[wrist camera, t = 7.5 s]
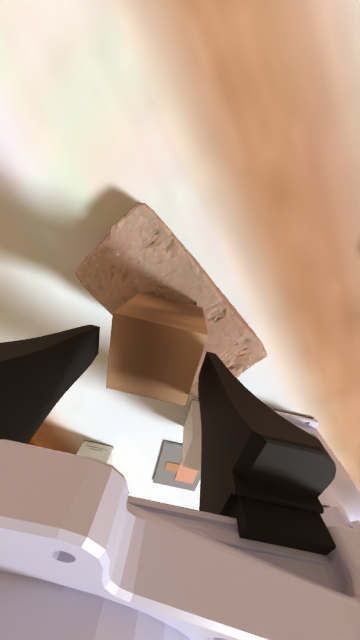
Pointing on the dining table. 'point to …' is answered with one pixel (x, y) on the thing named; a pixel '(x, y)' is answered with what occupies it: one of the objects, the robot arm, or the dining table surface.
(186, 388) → the walnut block
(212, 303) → the brick
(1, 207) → the dining table surface
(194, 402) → the cream cube
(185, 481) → the card
